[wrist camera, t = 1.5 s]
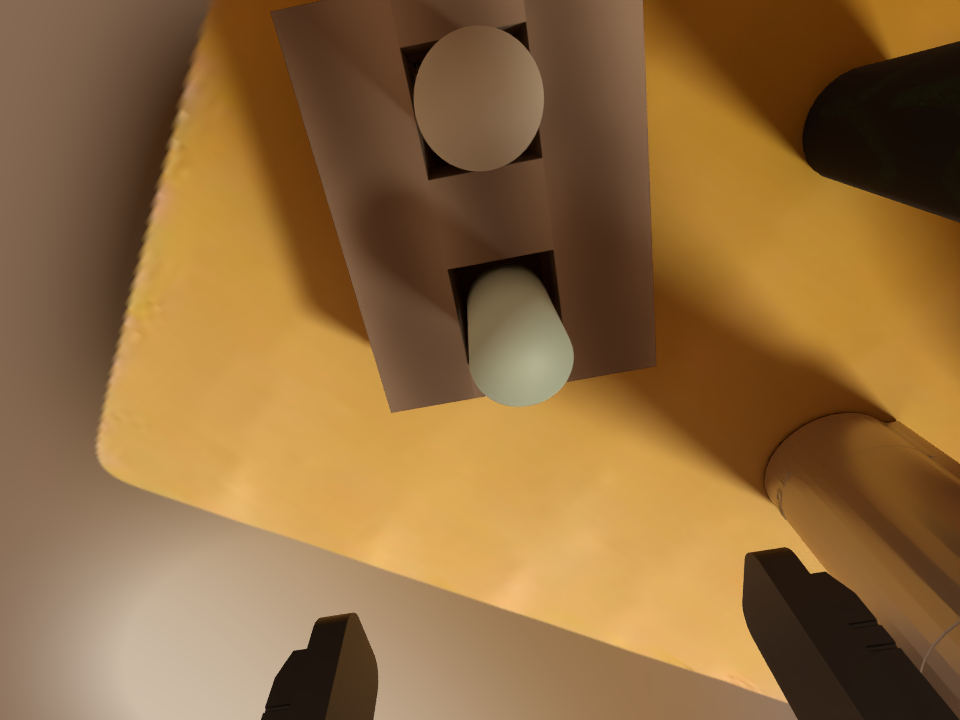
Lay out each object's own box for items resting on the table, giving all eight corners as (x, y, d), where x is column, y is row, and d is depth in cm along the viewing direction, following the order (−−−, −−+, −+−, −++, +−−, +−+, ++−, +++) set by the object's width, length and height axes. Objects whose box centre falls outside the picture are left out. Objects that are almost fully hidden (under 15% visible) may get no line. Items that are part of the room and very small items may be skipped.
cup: (797, 222, 30) (991, 285, 19) (768, 88, 27) (980, 70, 16) (936, 159, 28) (1230, 187, 18) (923, 10, 25) (1269, -68, 14)
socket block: (599, -28, 24) (640, -69, 19) (623, 323, 32) (656, 366, 26) (311, 34, 25) (270, 11, 19) (402, 363, 33) (391, 412, 27)
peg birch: (512, 42, 21) (534, 11, 15) (526, 146, 23) (551, 158, 17) (417, 62, 21) (399, 40, 15) (437, 164, 23) (429, 182, 17)
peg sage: (541, 256, 25) (567, 303, 19) (551, 331, 27) (578, 397, 20) (460, 272, 25) (459, 322, 19) (474, 345, 27) (479, 414, 21)
